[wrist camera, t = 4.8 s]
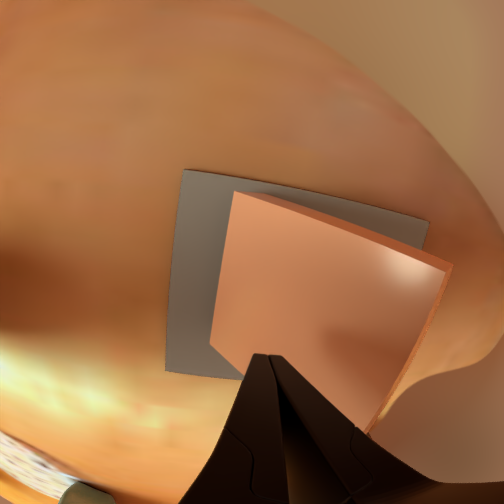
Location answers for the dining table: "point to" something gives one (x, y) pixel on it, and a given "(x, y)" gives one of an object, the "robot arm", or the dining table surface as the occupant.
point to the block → (324, 300)
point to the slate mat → (211, 254)
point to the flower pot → (85, 495)
